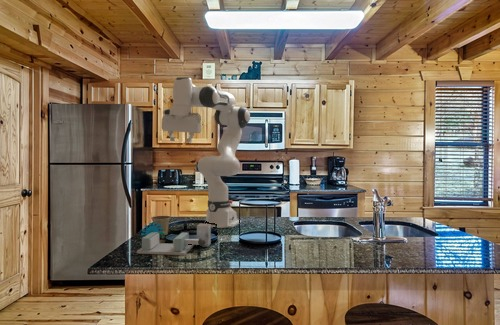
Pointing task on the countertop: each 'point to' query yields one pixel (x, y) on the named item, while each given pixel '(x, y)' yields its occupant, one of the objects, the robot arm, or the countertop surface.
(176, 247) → the jaw
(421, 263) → the countertop surface
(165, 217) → the flower pot
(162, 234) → the gear
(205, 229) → the block
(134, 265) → the countertop surface
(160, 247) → the vise
